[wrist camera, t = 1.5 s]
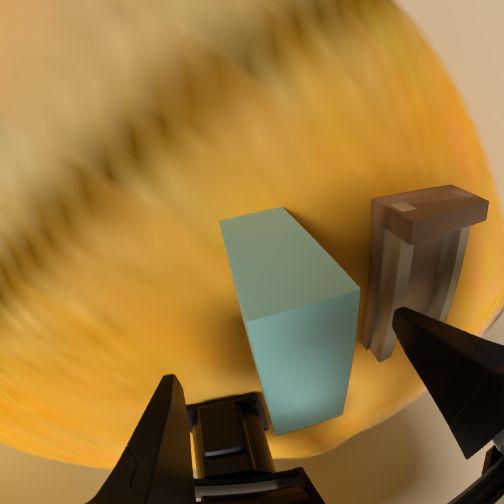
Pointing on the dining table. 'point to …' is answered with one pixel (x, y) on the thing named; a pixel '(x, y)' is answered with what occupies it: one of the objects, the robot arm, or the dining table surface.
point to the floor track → (416, 257)
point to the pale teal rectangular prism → (293, 316)
